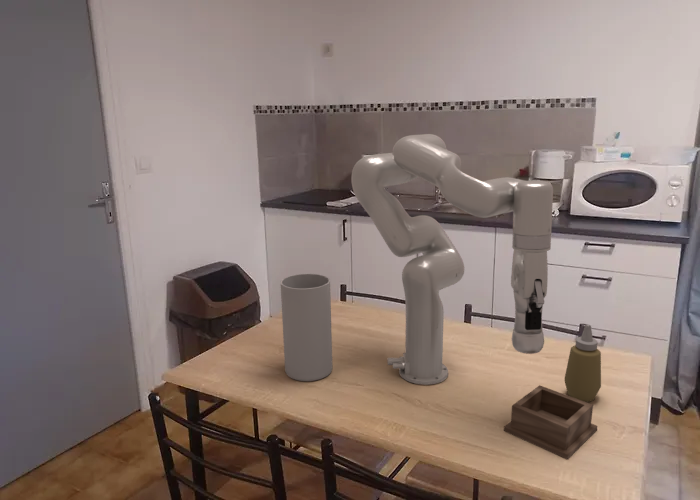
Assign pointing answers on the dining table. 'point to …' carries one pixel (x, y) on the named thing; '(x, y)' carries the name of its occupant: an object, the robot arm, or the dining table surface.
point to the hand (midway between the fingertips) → (528, 323)
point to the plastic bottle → (521, 337)
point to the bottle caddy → (552, 421)
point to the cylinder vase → (307, 326)
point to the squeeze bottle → (584, 368)
